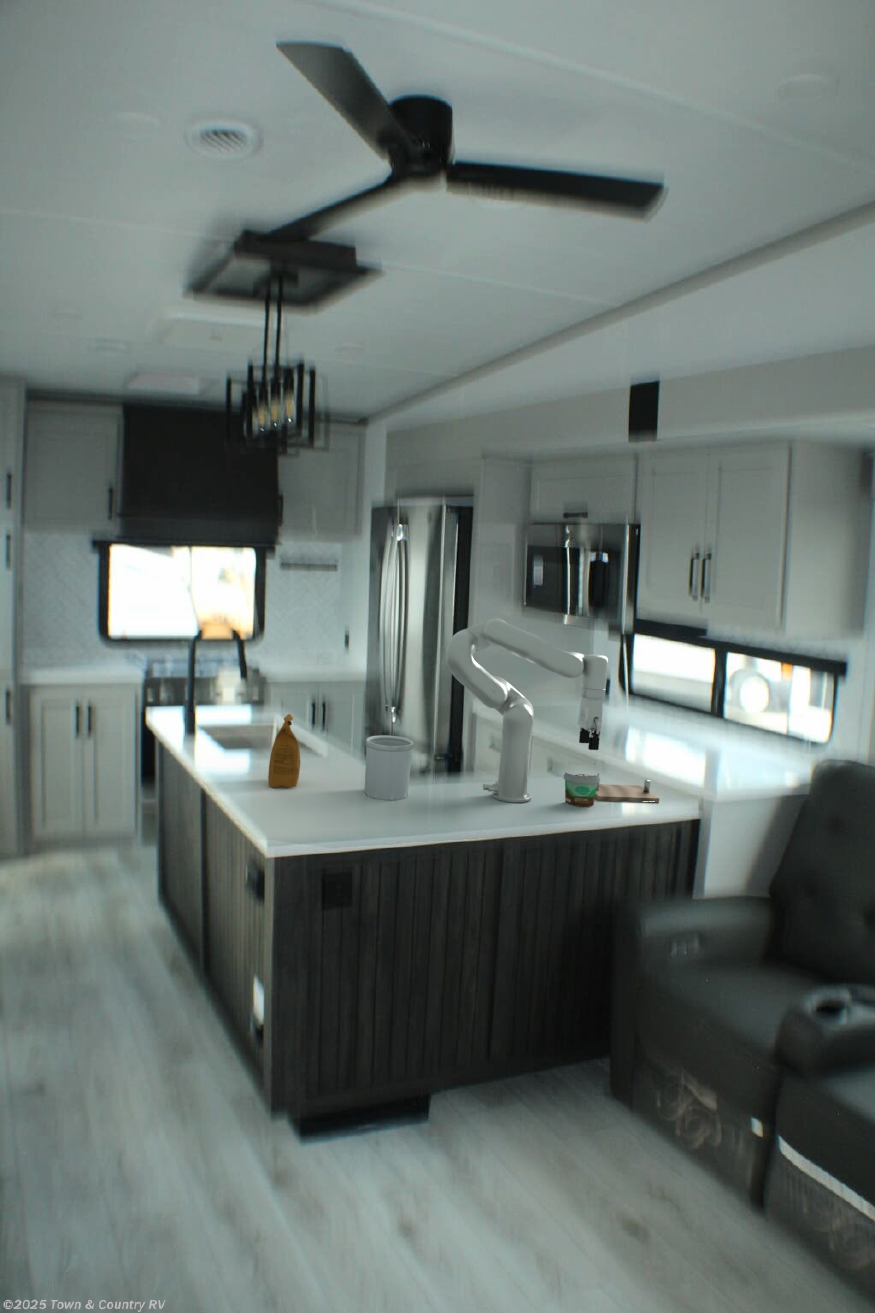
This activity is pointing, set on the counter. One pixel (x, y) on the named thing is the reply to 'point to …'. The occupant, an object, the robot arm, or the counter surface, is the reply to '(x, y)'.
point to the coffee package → (284, 758)
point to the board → (625, 792)
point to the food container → (580, 789)
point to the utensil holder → (387, 767)
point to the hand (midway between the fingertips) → (588, 746)
